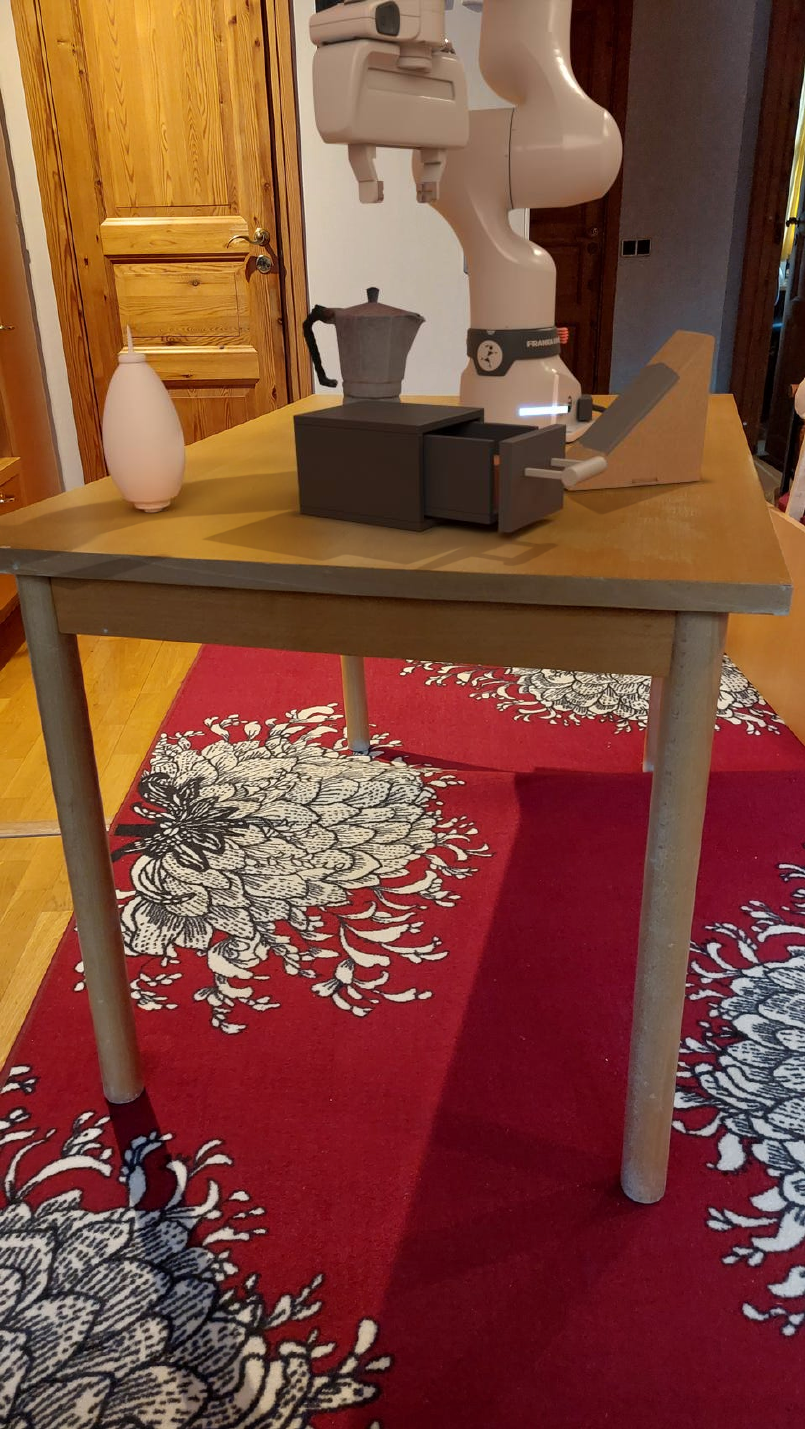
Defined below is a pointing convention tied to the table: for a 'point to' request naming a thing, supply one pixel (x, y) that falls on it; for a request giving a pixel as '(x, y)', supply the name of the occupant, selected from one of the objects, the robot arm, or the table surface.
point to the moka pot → (366, 347)
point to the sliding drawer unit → (525, 472)
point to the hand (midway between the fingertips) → (400, 203)
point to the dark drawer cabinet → (369, 460)
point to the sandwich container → (654, 420)
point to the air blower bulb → (142, 434)
